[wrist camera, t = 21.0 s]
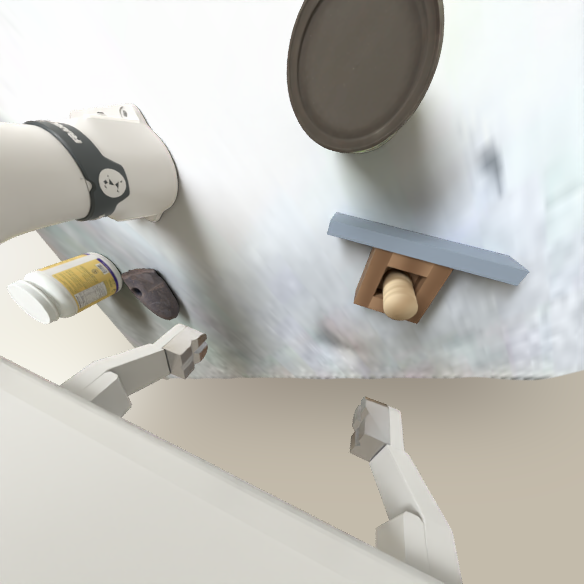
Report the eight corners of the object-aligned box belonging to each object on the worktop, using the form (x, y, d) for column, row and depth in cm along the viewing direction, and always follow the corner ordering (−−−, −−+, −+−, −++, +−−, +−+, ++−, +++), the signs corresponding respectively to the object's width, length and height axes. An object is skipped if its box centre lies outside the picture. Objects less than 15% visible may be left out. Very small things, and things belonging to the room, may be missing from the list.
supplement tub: (95, 281, 65) (21, 315, 52) (81, 244, 58) (-9, 271, 45) (129, 296, 64) (61, 335, 50) (119, 259, 57) (37, 293, 43)
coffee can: (383, 165, 29) (386, 171, 18) (312, 138, 30) (272, 127, 19) (435, 57, 23) (490, -37, 12) (344, 27, 24) (313, -85, 13)
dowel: (378, 286, 36) (378, 314, 30) (388, 264, 34) (390, 290, 28) (403, 293, 36) (409, 324, 29) (415, 272, 33) (424, 300, 27)
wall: (332, 225, 35) (327, 234, 31) (336, 212, 34) (330, 220, 30) (498, 268, 31) (516, 285, 27) (509, 255, 30) (529, 271, 26)
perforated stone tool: (189, 309, 58) (169, 326, 52) (177, 312, 60) (156, 329, 55) (153, 258, 52) (126, 271, 47) (141, 264, 55) (114, 276, 49)
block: (355, 289, 40) (353, 303, 36) (377, 236, 34) (376, 246, 30) (413, 307, 38) (417, 323, 34) (446, 254, 32) (454, 267, 28)
